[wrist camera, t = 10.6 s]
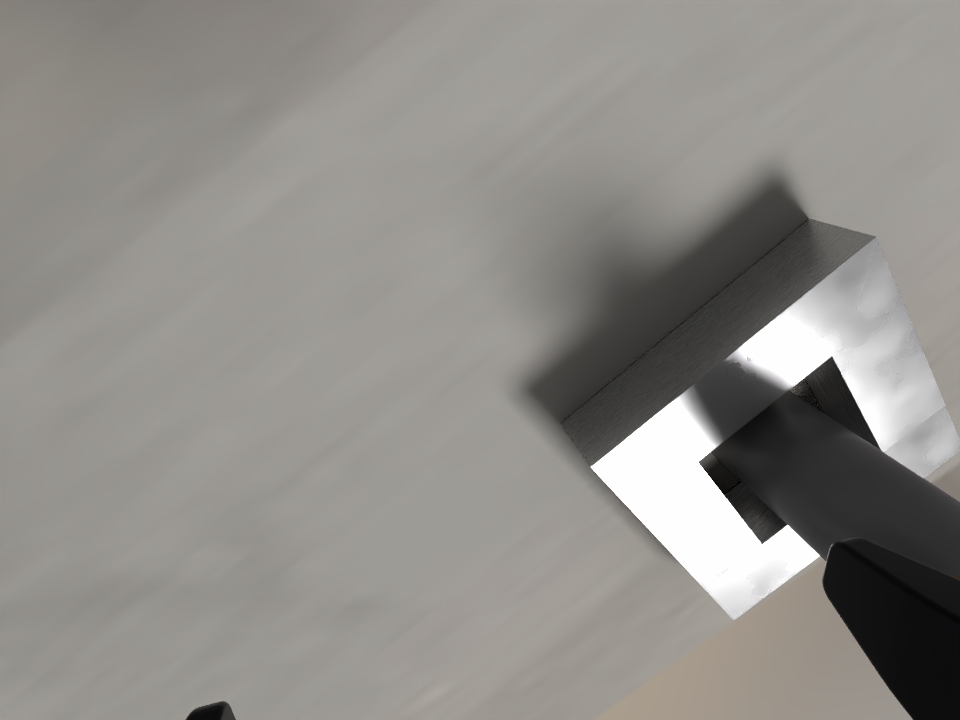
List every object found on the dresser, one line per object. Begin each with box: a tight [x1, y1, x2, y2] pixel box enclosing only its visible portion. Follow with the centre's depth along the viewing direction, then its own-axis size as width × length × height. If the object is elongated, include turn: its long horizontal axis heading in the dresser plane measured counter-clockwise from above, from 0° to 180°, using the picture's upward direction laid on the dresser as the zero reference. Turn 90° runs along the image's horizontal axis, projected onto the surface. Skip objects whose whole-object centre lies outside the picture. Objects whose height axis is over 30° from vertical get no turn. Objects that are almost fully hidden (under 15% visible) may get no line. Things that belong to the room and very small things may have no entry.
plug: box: [711, 390, 960, 580], centre depth 20 cm, size 4×4×12 cm
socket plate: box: [561, 219, 960, 620], centre depth 24 cm, size 12×12×3 cm
